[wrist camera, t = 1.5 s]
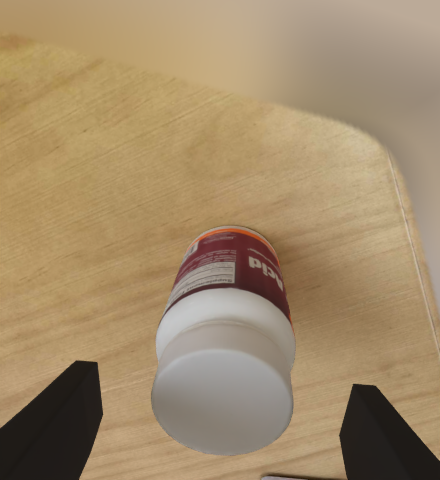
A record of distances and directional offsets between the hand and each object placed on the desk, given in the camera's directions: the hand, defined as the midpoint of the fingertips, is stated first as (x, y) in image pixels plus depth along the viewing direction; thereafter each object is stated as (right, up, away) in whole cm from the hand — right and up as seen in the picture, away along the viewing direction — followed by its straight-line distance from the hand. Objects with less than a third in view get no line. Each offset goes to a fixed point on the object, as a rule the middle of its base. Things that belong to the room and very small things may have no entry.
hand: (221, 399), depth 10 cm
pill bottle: (+1, +3, +8) cm, 8 cm away
